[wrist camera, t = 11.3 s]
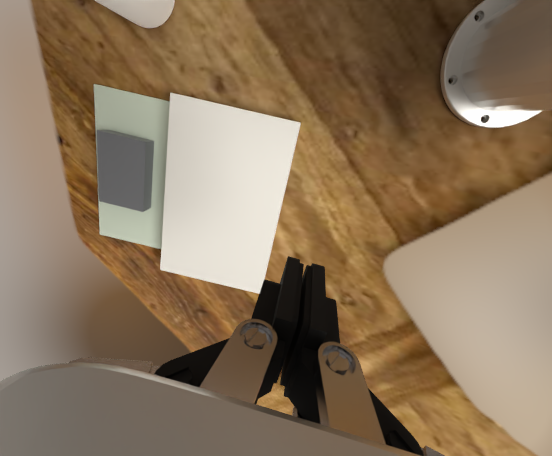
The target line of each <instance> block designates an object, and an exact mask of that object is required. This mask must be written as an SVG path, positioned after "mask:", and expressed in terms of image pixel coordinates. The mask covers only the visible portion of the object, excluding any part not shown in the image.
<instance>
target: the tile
mask: <svg viewBox="0 0 552 456" xmlns="http://www.w3.org/2000/svg"><path fill="white" fill-rule="evenodd" d="M153 157H154V141H153V140H149V139H145V138H141V137H137V136H132V135H128V134H124V133H120V132H116V131H112V130H97V158H98V191H99V201H100V202H104V203H108V204H112V205H116V206H120V207H125V208H129V209H133V210H137V211H141V212H144V211H146V210H148V209H149V208H151V199H152V178H153Z"/></svg>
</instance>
